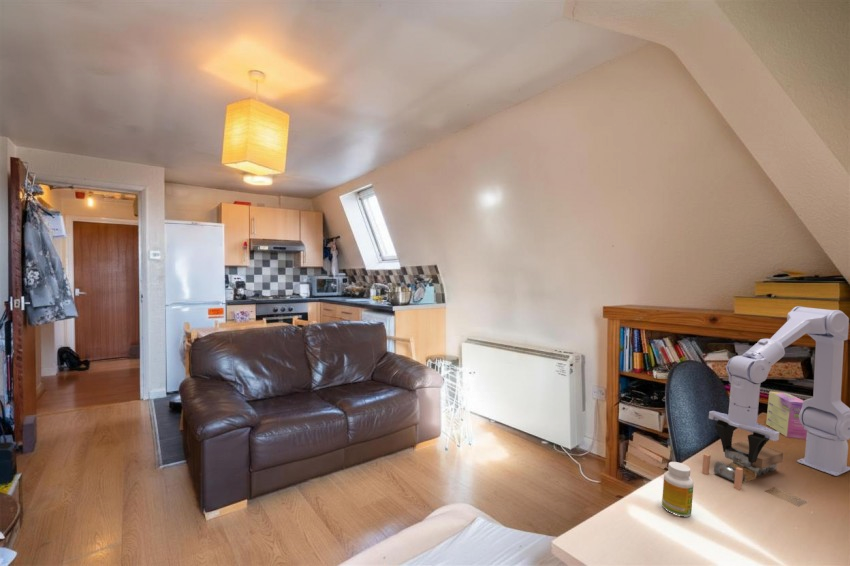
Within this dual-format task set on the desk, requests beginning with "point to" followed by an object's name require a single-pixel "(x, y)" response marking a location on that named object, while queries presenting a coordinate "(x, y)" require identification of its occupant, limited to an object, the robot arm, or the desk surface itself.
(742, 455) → the roller
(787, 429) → the box
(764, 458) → the slab
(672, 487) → the supplement bottle
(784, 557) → the desk surface
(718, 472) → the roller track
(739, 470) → the stop posts
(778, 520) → the desk surface
